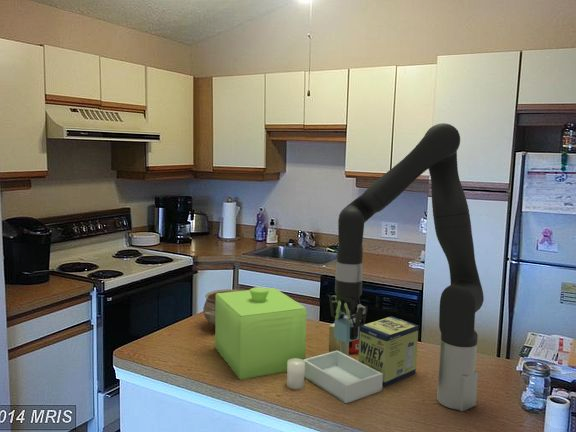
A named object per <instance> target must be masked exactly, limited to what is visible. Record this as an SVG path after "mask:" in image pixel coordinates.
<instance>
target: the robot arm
mask: <svg viewBox="0 0 576 432" xmlns="http://www.w3.org/2000/svg"><path fill="white" fill-rule="evenodd" d="M460 144H461V135H460V133H459V130H458V129H457V128H456V127H455V126H454V125H452V124H451V123H450V124H449V123H444V122H443V123H436V124H435V125H433V126H431V127H430V128H428V130H427V131H426V132H425V134H424V136H423V137H422V138H421V139H420V141H419V142H418V143H417V144H416V146H415V147H413V149H412V150H411V151H410V152H409V153H408V154H407V155H406V156H404V158H402V160H400V161H399V162H398V163H397V164H396V165H394V166H393V167H392V168H391V169H389V170H388V171H386V173H384V174H383V175H382V176H381V177H379V178H378V179H377V180H376V181H375V182H373V183H372V184H371V185H370V186H369V187H368V188H367V189H366V190H364V192H363V193H362V194H360V195H359V196H358V197H357V198H356V199H354V200H353V201H351V202H350V203H348V204H347V205H346V206H345V207H344V208H343V209H342V210H341V211H340V213H339V215H338V223H337V226H338V228H337V229H338V231H337V232H338V236H337V237H338V243H337V252H336V266H335V279H334V280H335V283H334V293H335V295H331V296H329V299H328V300H329V306H330V307H329V309H330V316H331V317H332V318H334V321H335V320H338V319H342V318H344V317H345V316H346V315H347V318H348V319H349V321H350V326H351V327H350V339H351V340H354V339H357V337H358V327H359V326H363V325H365V324H366V319H367V313H368V310H369V308H368V305H362V304H361V301H360V297H361V295H362V293H363V275H364V274H363V272H364V271H363V270H364V269H363V254H364V253H363V252H364V251H363V239H364V233H365V231H364V229H365V223H366V222H367V221H368V220H369V219H371V218H372V217H373V216H374V215H376V214H377V213H379V212H382V211H383V210H384V209H385V208H386V207H388V206H389V205H390V204H391V203H392V202H393V201H395V200H396V199H397V198H398V197H399V196H400V195H402V194H403V192H404V191H405V190H406V189H408V187H410V185H411V184H412V183H413V182H414V181H416V180H417V179H418V178H419V177H420V176H421V175H422V174H424V173H425V172H426V171H427V170H428V171H429V176H430V183H431V184H430V185H431V207H432V218H433V223H434V230H435V231H434V232H435V234H436V238H437V241H438V243H439V245H440V247H441V250H442V252H443V253H444V255H445V258H446V260H447V264H448V268H449V270H448V271H449V277H450V278H449V279H450V285H449V286H446V287H445V288H444V289H443V290H442V293H441V295H440V298H439V299H440V300H439V314H438V328H439V331H440V345H439V346H440V348H439V361H438V363H439V364H438V375H437V378H438V379H437V389H436V390H437V393H436V394H437V395H436V400H437V402H438V403H439V404H441V405H442V406H444V407H446V408H449V409H452V410H456V411H457V410H458V411H460V412H465V411H467V410H469V409H472V408H474V407H476V406H477V397H478V396H477V395H478V384H479V383H478V382H479V381H478V380H479V371H476V361H477V351H478V350H477V349H478V339H479V338H478V333H477V331H476V329H475V326H476V325H475V324H476V323H475V322H476V320H475V319H476V318H475V317H476V313H477V312H478V311H479V310H480V309H481V308H482V306H483V304H484V301H485V300H484V299H485V298H484V296H485V295H484V291H483V286H482V283H481V279H480V276H479V272H478V268H477V264H476V256H475V255H476V254H475V246H474V239H473V232H472V222H471V217H470V216H471V214H470V210H469V205H468V201H467V198H466V195H465V191H464V189H463V186H462V184H461V180H460V175H459V170H458V169H459V168H458V149H459V148H460ZM353 319H355V322H354V320H353ZM360 320H361V321H360Z"/></svg>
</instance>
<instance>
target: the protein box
mask: <svg viewBox="0 0 576 432" xmlns="http://www.w3.org/2000/svg"><path fill="white" fill-rule="evenodd" d="M418 339H419V325H418V324H415V323H412V322H409V321H406V320H403V319H400V318H397V317H395V316H391V315H390V316H388V317H385V318H382V319H378V320H375V321H372V322H368V323H364V325H363V326H360V342H359V353H358V361H359V362H361V363H363V364H365V365H367V366H369V367H371V368H373V369H375V370H376V371H378V372H380V373H382V374H383V381H382V388H385V387H387V386H390V385H392V384H394V383H397V382H399V381H401V380H403V379H406V378H408V377H410V376H412V375H416V372H417V359H418V358H417V356H418V342H419V341H418Z"/></svg>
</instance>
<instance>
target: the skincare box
mask: <svg viewBox="0 0 576 432" xmlns="http://www.w3.org/2000/svg"><path fill="white" fill-rule="evenodd" d="M334 325H335V322H333V323H331V324H329V331H328V333H329V334H328V336H329V337H328V353H329V352H333V351H337V350H338V351H340V352H341V353H343V354H345V355H347V356H349V355H350V354H349V342H347V343H345V342H343V341H341V340H339V339H337V338H335V337H334ZM349 357H350V356H349Z"/></svg>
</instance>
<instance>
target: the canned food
mask: <svg viewBox="0 0 576 432" xmlns="http://www.w3.org/2000/svg"><path fill="white" fill-rule="evenodd" d="M344 318H347V314H345V317H344ZM353 320H355V319H353ZM360 321H361V320H360ZM359 342H360V327H359V339H358V340H354V341H350V342H349V355H356V354H359Z"/></svg>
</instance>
